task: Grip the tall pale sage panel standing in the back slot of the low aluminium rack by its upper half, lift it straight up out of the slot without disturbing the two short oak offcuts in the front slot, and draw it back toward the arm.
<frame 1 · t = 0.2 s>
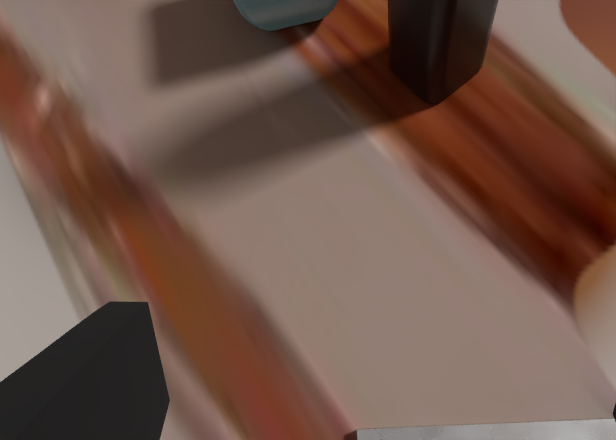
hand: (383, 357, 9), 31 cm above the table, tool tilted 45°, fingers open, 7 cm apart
flower pot: (294, 3, 49), on the table
wine bottle: (434, 67, 45), on the table
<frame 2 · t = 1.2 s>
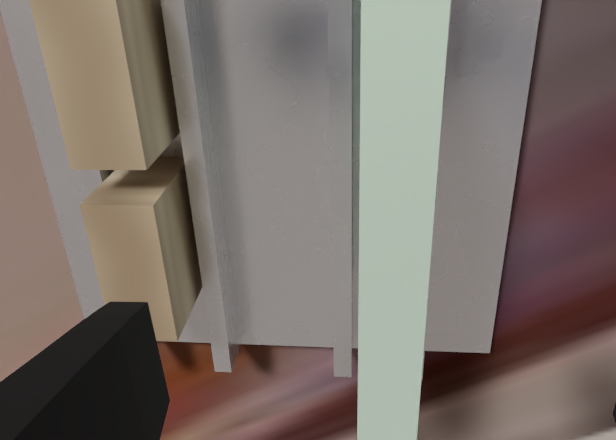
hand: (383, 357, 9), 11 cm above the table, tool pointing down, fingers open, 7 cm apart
sage panel: (383, 141, 17), point 1 cm above the table, touching slot rack
oak offcut b: (170, 219, 19), point 1 cm above the table, touching slot rack
oak offcut a: (142, 51, 16), point 1 cm above the table, touching slot rack
slot rack: (272, 130, 18), on the table
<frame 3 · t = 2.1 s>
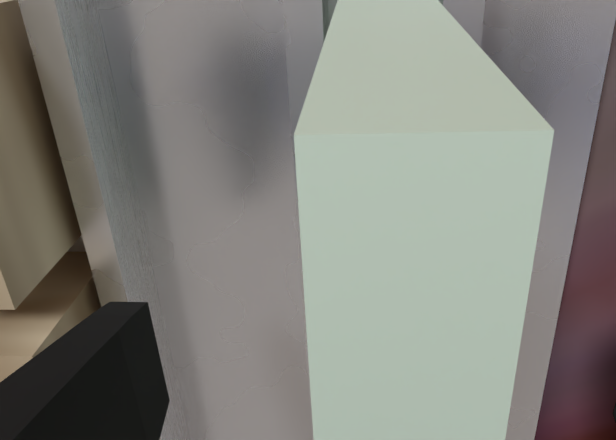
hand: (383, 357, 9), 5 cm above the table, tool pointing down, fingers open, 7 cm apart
sage panel: (377, 232, 12), point 1 cm above the table, touching slot rack
oak offcut b: (92, 329, 14), point 1 cm above the table, touching slot rack
oak offcut a: (29, 113, 11), point 1 cm above the table, touching slot rack
slot rack: (226, 211, 13), on the table
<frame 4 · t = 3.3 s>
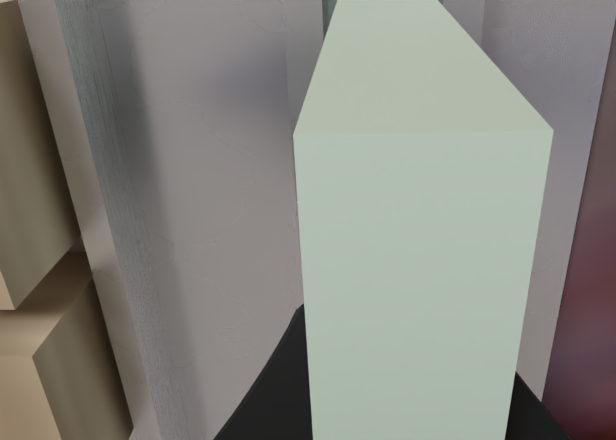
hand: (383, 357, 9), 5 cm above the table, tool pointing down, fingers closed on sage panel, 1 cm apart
sage panel: (377, 232, 12), point 1 cm above the table, touching gripper, slot rack
oak offcut b: (91, 329, 14), point 1 cm above the table, touching slot rack
oak offcut a: (29, 113, 11), point 1 cm above the table, touching slot rack
slot rack: (226, 211, 13), on the table
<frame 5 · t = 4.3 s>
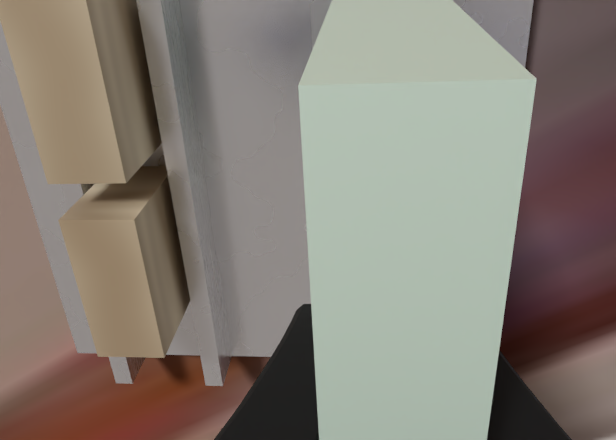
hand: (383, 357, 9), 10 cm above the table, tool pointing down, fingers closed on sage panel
sage panel: (377, 218, 12), point 6 cm above the table, touching gripper
oak offcut b: (156, 230, 18), point 1 cm above the table, touching slot rack
oak offcut a: (121, 58, 16), point 1 cm above the table, touching slot rack
slot rack: (259, 137, 18), on the table
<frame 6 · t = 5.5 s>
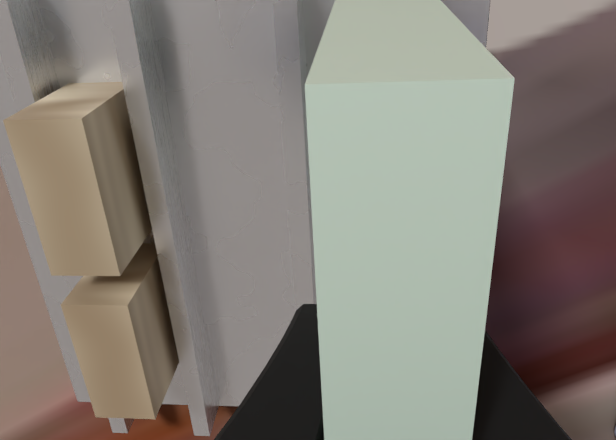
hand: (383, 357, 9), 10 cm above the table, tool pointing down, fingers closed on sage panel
sage panel: (376, 214, 13), point 6 cm above the table, touching gripper
oak offcut b: (148, 297, 20), point 1 cm above the table, touching slot rack
oak offcut a: (117, 153, 18), point 1 cm above the table, touching slot rack
slot rack: (242, 216, 20), on the table
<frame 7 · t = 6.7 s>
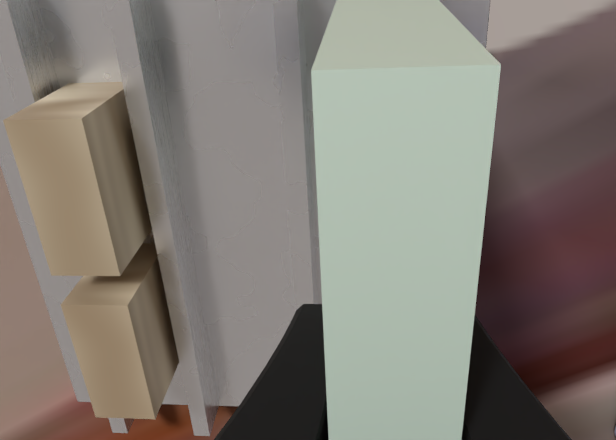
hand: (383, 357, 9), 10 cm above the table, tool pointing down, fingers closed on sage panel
sage panel: (376, 209, 13), point 5 cm above the table, touching gripper
oak offcut b: (148, 297, 20), point 1 cm above the table, touching slot rack
oak offcut a: (117, 153, 18), point 1 cm above the table, touching slot rack
slot rack: (242, 216, 20), on the table
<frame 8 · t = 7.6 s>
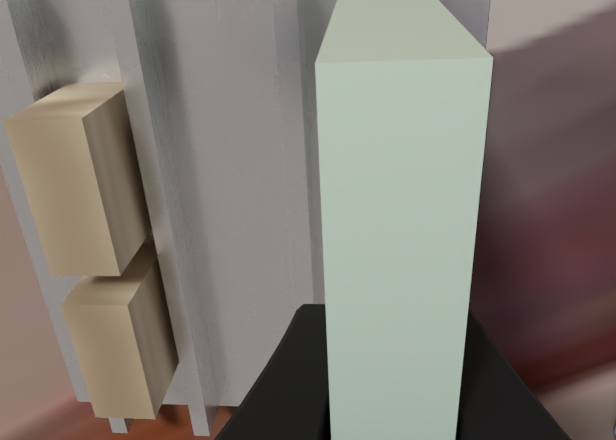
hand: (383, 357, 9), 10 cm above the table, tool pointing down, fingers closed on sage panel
sage panel: (376, 204, 13), point 5 cm above the table, touching gripper
oak offcut b: (148, 297, 20), point 1 cm above the table, touching slot rack
oak offcut a: (117, 153, 18), point 1 cm above the table, touching slot rack
slot rack: (242, 216, 20), on the table
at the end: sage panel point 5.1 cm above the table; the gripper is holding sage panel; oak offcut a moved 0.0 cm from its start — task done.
